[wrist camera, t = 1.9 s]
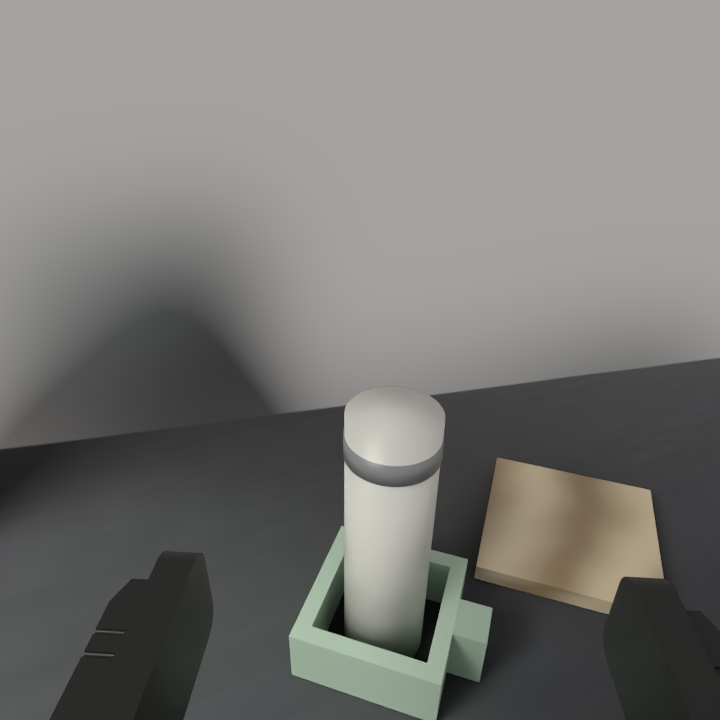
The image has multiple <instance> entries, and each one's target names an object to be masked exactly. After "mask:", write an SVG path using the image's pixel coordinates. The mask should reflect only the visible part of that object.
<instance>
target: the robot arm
mask: <svg viewBox="0 0 720 720" xmlns="http://www.w3.org/2000/svg"><path fill="white" fill-rule="evenodd" d="M212 619H213V601H212V595H211V590H210V584H209V579H208V573H207V568H206V562H205V557H204V555H203V554H202V553H191V552H171V551H164V552H162V553H161V555H160V556H159V558H158V560H157V562H156V564H155V566H154V568H153V570H152V573H151V575H150V577H149V579H148V580H145V579H131V580H130V581H129V582H128V583H127V584H126V585H125V586H124V587H123V588H122V589H121V590H120V591H119V592H118V593H117V594H116V595H115V596H114V597H113V598H112V599H111V600H110V601H109V603H108V605H107V607H106V609H105V611H104V613H103V615H102V617H101V619H100V621H99V623H98V625H97V627H96V632H95V634H93V635H92V637H91V639H90V641H89V643H88V645H87V647H86V649H85V653H84V656H83V657H81V659H80V661H79V663H78V665H77V667H76V668H75V670H74V672H73V674H72V676H71V678H70V680H69V682H68V684H67V686H66V688H65V690H64V692H63V694H62V696H61V698H60V700H59V702H58V704H57V706H56V708H55V710H54V712H53V714H52V716H51V718H50V720H183V719H184V716H185V712H186V709H187V706H188V703H189V700H190V696H191V693H192V690H193V687H194V684H195V680H196V677H197V674H198V671H199V668H200V664H201V661H202V658H203V655H204V652H205V648H206V645H207V642H208V639H209V635H210V631H211V626H212ZM604 651H605V656H606V660H607V664H608V667H609V670H610V673H611V676H612V679H613V682H614V685H615V688H616V691H617V694H618V697H619V700H620V703H621V706H622V709H623V712H624V715H625V718H626V720H720V631H719V630H718V629H717V628H716V627H715V626H714V625H713V624H712V623H711V622H710V621H709V620H708V619H707V618H706V617H705V615H704V614H703V613H702V612H701V611H686V610H685V608H684V606H683V604H682V602H681V600H680V598H679V596H678V594H677V592H676V590H675V588H674V586H673V585H672V584H671V582H670V581H668V580H667V579H662V578H643V577H623V578H622V579H621V581H620V583H619V586H618V589H617V592H616V594H615V597H614V600H613V603H612V606H611V609H610V612H609V615H608V618H607V621H606V624H605V627H604Z"/></svg>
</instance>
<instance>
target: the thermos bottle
mask: <svg viewBox="0 0 720 720" xmlns="http://www.w3.org/2000/svg"><path fill="white" fill-rule="evenodd" d="M444 427H445V413H444V410H443V408H442V407H441V405H440V404H439V403H438V402H437V401H436V400H435V399H434V398H432V397H431V396H429V395H427V394H425V393H423V392H421V391H418V390H415V389H411V388H407V387H399V386H383V387H377V388H372V389H369V390H365V391H363V392H361V393H359V394H357V395H356V396H354V397H353V398H352V399H351V400H350V401H349V402H348V404H347V405H346V407H345V411H344V430H343V457H344V637H347V638H350V639H353V640H356V641H359V642H363V643H366V644H369V645H372V646H375V647H378V648H382V649H385V650H388V651H391V652H394V653H397V654H400V655H404V656H407V657H410V658H414V656H415V655H416V653H417V651H418V649H419V647H420V643H421V636H422V627H423V617H424V608H425V599H426V590H427V581H428V572H429V563H430V554H431V545H432V536H433V527H434V517H435V508H436V499H437V490H438V481H439V472H440V465H441V462H442V456H443V447H444Z"/></svg>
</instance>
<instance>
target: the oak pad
mask: <svg viewBox="0 0 720 720" xmlns="http://www.w3.org/2000/svg"><path fill="white" fill-rule="evenodd" d="M623 577H643V578H662V579H664V577H663V570H662V564H661V557H660V550H659V544H658V537H657V530H656V524H655V517H654V511H653V504H652V497H651V491H650V490H648V489H643V488H638V487H634V486H629V485H624V484H620V483H615V482H610V481H606V480H601V479H596V478H591V477H587V476H582V475H577V474H573V473H568V472H563V471H559V470H554V469H549V468H545V467H540V466H535V465H530V464H526V463H521V462H516V461H512V460H507V459H502V458H498V457H497V462H496V467H495V472H494V477H493V482H492V487H491V493H490V498H489V503H488V508H487V513H486V518H485V524H484V529H483V534H482V539H481V544H480V550H479V555H478V560H477V565H476V571H475V577H474V578H475V579H479V580H483V581H486V582H490V583H494V584H498V585H501V586H505V587H509V588H512V589H516V590H520V591H523V592H527V593H531V594H534V595H538V596H542V597H545V598H549V599H553V600H557V601H560V602H564V603H568V604H571V605H575V606H579V607H582V608H586V609H590V610H593V611H597V612H601V613H605V614H608V615H609V612H610V609H611V606H612V603H613V600H614V597H615V594H616V592H617V589H618V586H619V583H620V581H621V579H622V578H623Z"/></svg>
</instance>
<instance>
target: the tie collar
mask: <svg viewBox="0 0 720 720" xmlns="http://www.w3.org/2000/svg"><path fill="white" fill-rule="evenodd" d="M467 563H468V559H465V558H461V557H457V556H453V555H450V554H446V553H442V552H438V551H434V550H431V554H430V563H429V572H428V581H427V590H426V599H428V600H432V601H435V602H439V603H441V607H440V612H439V616H438V620H437V624H436V628H435V632H434V636H433V641H432V645H431V649H430V653H429V657H428V661H427V663H426V662H423V661H419V660H416V659H413V658H410V657H407V656H404V655H400V654H397V653H394V652H391V651H388V650H385V649H382V648H378V647H375V646H372V645H369V644H366V643H363V642H359V641H356V640H353V639H350V638H347V637H344V636H340V635H337V634H334V633H331V632H328V629H329V626H330V624H331V621H332V619H333V617H334V614H335V612H336V610H337V607H338V605H339V602H340V600H341V598H342V595H343V593H344V527H343V526H341V528H340V530H339V533H338V535H337V537H336V539H335V541H334V543H333V545H332V547H331V549H330V551H329V553H328V556H327V558H326V560H325V562H324V564H323V566H322V568H321V570H320V572H319V574H318V576H317V579H316V581H315V583H314V585H313V587H312V589H311V591H310V593H309V595H308V597H307V599H306V602H305V604H304V606H303V608H302V610H301V612H300V614H299V616H298V618H297V620H296V622H295V625H294V627H293V629H292V631H291V633H290V635H289V644H290V657H291V670H292V675H295V676H298V677H301V678H303V679H306V680H309V681H312V682H315V683H318V684H321V685H324V686H327V687H330V688H332V689H335V690H338V691H341V692H344V693H347V694H350V695H353V696H356V697H359V698H362V699H364V700H367V701H370V702H373V703H376V704H379V705H382V706H385V707H388V708H391V709H394V710H396V711H399V712H402V713H405V714H408V715H411V716H414V717H417V718H420V719H423V720H437V715H438V710H439V706H440V701H441V696H442V691H443V686H444V681H445V677H446V672H448V673H451V674H454V675H457V676H460V677H463V678H466V679H470V680H473V681H476V682H479V681H480V677H481V672H482V667H483V662H484V657H485V652H486V647H487V642H488V635H489V629H490V622H491V615H492V609H493V608H491V607H487V606H484V605H480V604H477V603H473V602H469V601H466V600H462V594H463V588H464V582H465V575H466V569H467Z"/></svg>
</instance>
